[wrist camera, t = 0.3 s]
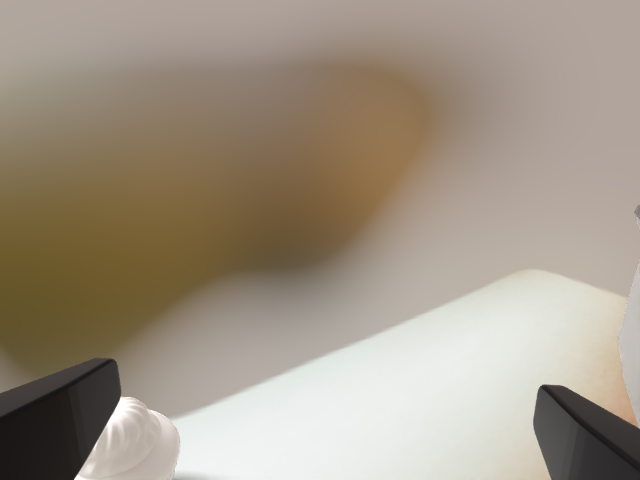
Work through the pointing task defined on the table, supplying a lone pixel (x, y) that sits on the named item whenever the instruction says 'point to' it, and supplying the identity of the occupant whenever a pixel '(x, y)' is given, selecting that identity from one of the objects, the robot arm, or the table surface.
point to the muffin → (134, 446)
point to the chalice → (632, 340)
